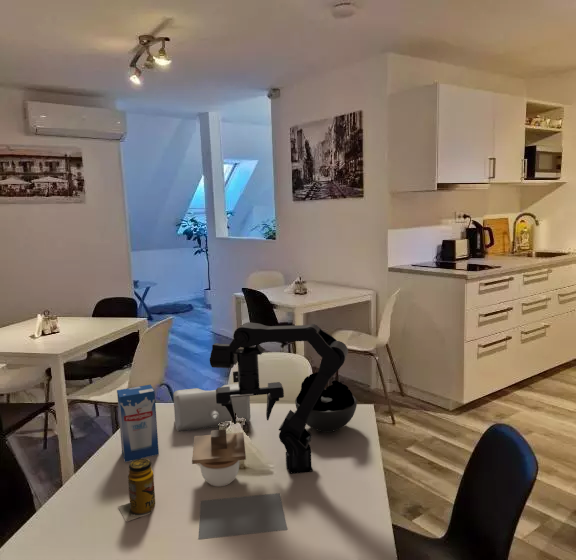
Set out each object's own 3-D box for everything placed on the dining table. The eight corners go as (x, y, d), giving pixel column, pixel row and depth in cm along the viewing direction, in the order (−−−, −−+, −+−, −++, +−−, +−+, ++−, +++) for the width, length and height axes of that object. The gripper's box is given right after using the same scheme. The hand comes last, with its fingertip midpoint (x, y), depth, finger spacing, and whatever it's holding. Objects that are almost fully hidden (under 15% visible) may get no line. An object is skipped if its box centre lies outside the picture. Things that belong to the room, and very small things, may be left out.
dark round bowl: (296, 416, 179) (295, 364, 176) (354, 416, 178) (353, 363, 175) (295, 443, 159) (293, 385, 156) (360, 443, 158) (359, 384, 155)
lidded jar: (208, 497, 131) (206, 463, 130) (195, 477, 140) (193, 445, 139) (246, 485, 136) (245, 452, 134) (232, 467, 145) (230, 436, 144)
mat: (279, 494, 131) (279, 492, 131) (287, 531, 117) (287, 529, 116) (200, 502, 129) (200, 500, 129) (198, 541, 114) (198, 539, 114)
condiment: (161, 510, 126) (158, 464, 124) (126, 522, 122) (122, 475, 120) (151, 496, 132) (148, 452, 130) (117, 507, 128) (114, 462, 126)
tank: (176, 441, 163) (174, 403, 161) (174, 420, 178) (172, 386, 176) (254, 430, 169) (253, 394, 167) (246, 411, 184) (244, 378, 182)
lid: (243, 435, 144) (242, 420, 143) (245, 459, 131) (245, 443, 130) (194, 439, 142) (193, 424, 142) (192, 464, 129) (191, 447, 129)
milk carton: (155, 445, 160) (150, 384, 157) (159, 454, 154) (154, 390, 151) (121, 453, 155) (116, 390, 152) (124, 462, 150) (119, 397, 147)
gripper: (278, 357, 152) (280, 407, 154) (214, 362, 150) (218, 413, 152) (282, 369, 141) (285, 422, 143) (214, 374, 139) (218, 429, 141)
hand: (251, 421), depth 145 cm, fingers open, 9 cm apart
